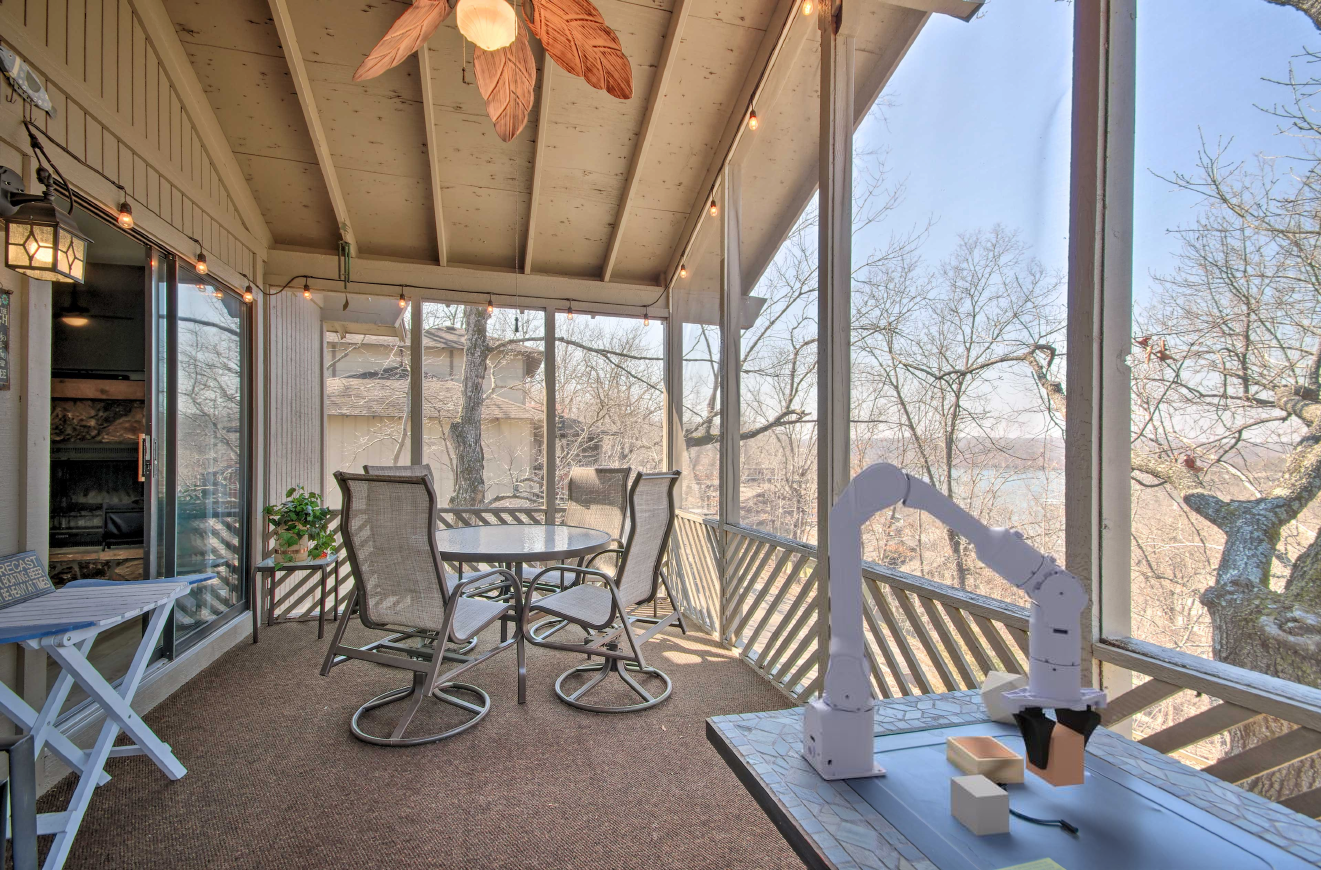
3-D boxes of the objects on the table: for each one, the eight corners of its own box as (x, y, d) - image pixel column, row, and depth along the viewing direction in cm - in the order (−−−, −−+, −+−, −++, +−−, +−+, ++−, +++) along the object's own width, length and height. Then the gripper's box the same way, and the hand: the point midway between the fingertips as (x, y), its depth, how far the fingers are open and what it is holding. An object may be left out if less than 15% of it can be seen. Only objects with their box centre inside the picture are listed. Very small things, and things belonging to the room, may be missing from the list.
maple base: (977, 786, 82) (977, 760, 82) (946, 761, 88) (946, 736, 89) (1023, 784, 82) (1023, 758, 83) (989, 759, 89) (989, 735, 90)
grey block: (976, 836, 70) (976, 797, 70) (950, 814, 74) (950, 777, 75) (1009, 832, 71) (1009, 793, 71) (981, 810, 75) (981, 774, 76)
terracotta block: (1054, 786, 75) (1054, 738, 75) (1025, 768, 79) (1025, 722, 80) (1084, 783, 76) (1084, 735, 76) (1054, 766, 80) (1054, 720, 80)
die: (1034, 720, 105) (999, 666, 110) (1058, 713, 98) (1020, 656, 103) (994, 738, 104) (961, 683, 109) (1015, 733, 97) (979, 674, 102)
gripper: (1032, 671, 73) (1031, 785, 72) (1129, 667, 76) (1129, 776, 75) (989, 653, 80) (988, 756, 79) (1079, 649, 83) (1079, 749, 82)
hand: (1054, 764), depth 78 cm, fingers closed on terracotta block, 4 cm apart
